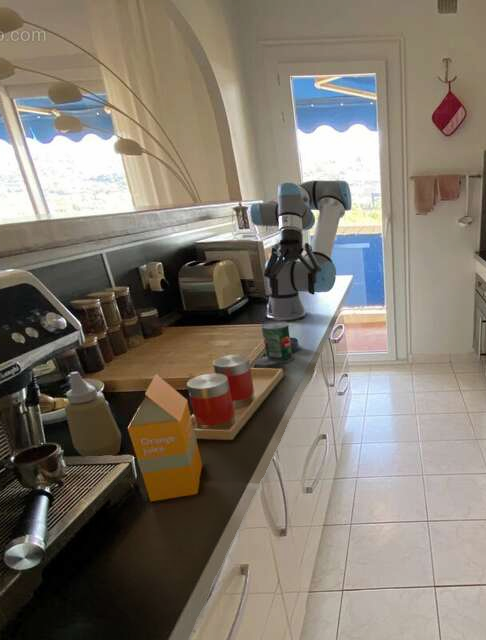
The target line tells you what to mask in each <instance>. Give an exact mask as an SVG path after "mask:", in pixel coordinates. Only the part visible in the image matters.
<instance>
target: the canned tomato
mask: <svg viewBox="0 0 486 640" xmlns="http://www.w3.org/2000/svg"><path fill="white" fill-rule="evenodd" d="M261 333H262V338H263V347H264V353H265V357H267V356H275V357H279V358H280V359H281V364H283V363H288V362H290V361H291V360H292V359H293V354H292V353H293V352H291V344H290V337H291V336H290V329H289V322H288V321H287V322H286V321H275V320H274V321H269V322H264V323H263V324H261Z"/></svg>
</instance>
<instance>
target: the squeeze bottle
mask: <svg viewBox="0 0 486 640" xmlns="http://www.w3.org/2000/svg"><path fill="white" fill-rule="evenodd" d="M70 386H71V389H69V390H68V391H67V392H66V393H65V396H66V399H67V401H68V402H67V403H66V404H65V406H64V411H65V415H66V420H67V424H68V428H69V432H70V436H71V441H72V445H73V447H74V449H75V450H76V451H77V453H78V454H80V455H81V457H83V456H103V455H115V456H116V455H118V453H120V450H121V443H122V442H121V441H122V432H121V430H120V428H119V426H118V424H117V422H116V419H115V417H114V415H113V414H112V411H110V410H111V408H110V409H109V407H110V406H109V407H108V405H107V403H106V401H107V400H106V399H105V396H104V397H101V396H98V395H97V392H98V391H97V390H96V389H97V388H96V387H95V386H93V385H87V383H86V382H85V380H84V379H83V377H82V376H81V374H80V373H79V371H72V372H70ZM105 400H106V401H105Z"/></svg>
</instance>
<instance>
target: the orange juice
mask: <svg viewBox="0 0 486 640" xmlns="http://www.w3.org/2000/svg"><path fill="white" fill-rule="evenodd" d="M144 394H145V396H144V398H143V400H142V401H141V403H140V404H139V406H138V408H137V410H136V412H135V413H134V415H133V417H132V418H131V421H130V422H129V425H128V427H127V431H128V434H129V438H130V440H131V443H132V446H133V449H134V454H135V457H136V459H137V464H138V467H139V470H140V473H141V475H142V479H143V481H144V485H145V488H146V491H147V495H148V498H149V501H150V502H156V501H163V500H168V499H169V500H170V499H175V498H180V497H186V496H193V495H198V493H199V488H200V483H201V480H200V478H201V474H202V470H203V469H202V468H203V463H202V458H201V454H200V449H199V446H198V441H197V440H198V439H197V438H196V435H195V431H194V428H193V424H192V420H191V416H192V415H191V411H190V408H189V404H188V399H187V398H186V397H184V396H183V395H182V394H181V393H180V392H178V391H177V390H176V389H175V388H174V387H173V386H172V385H171V384H169V383H168V382H167V381H165V380H164V379H163V378H162V377H161V376H159V375H158V373H155V374H154V377H153V378H152V380H151V382H150V384H149V385H148V387H147V389H146V391H145V393H144Z"/></svg>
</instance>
